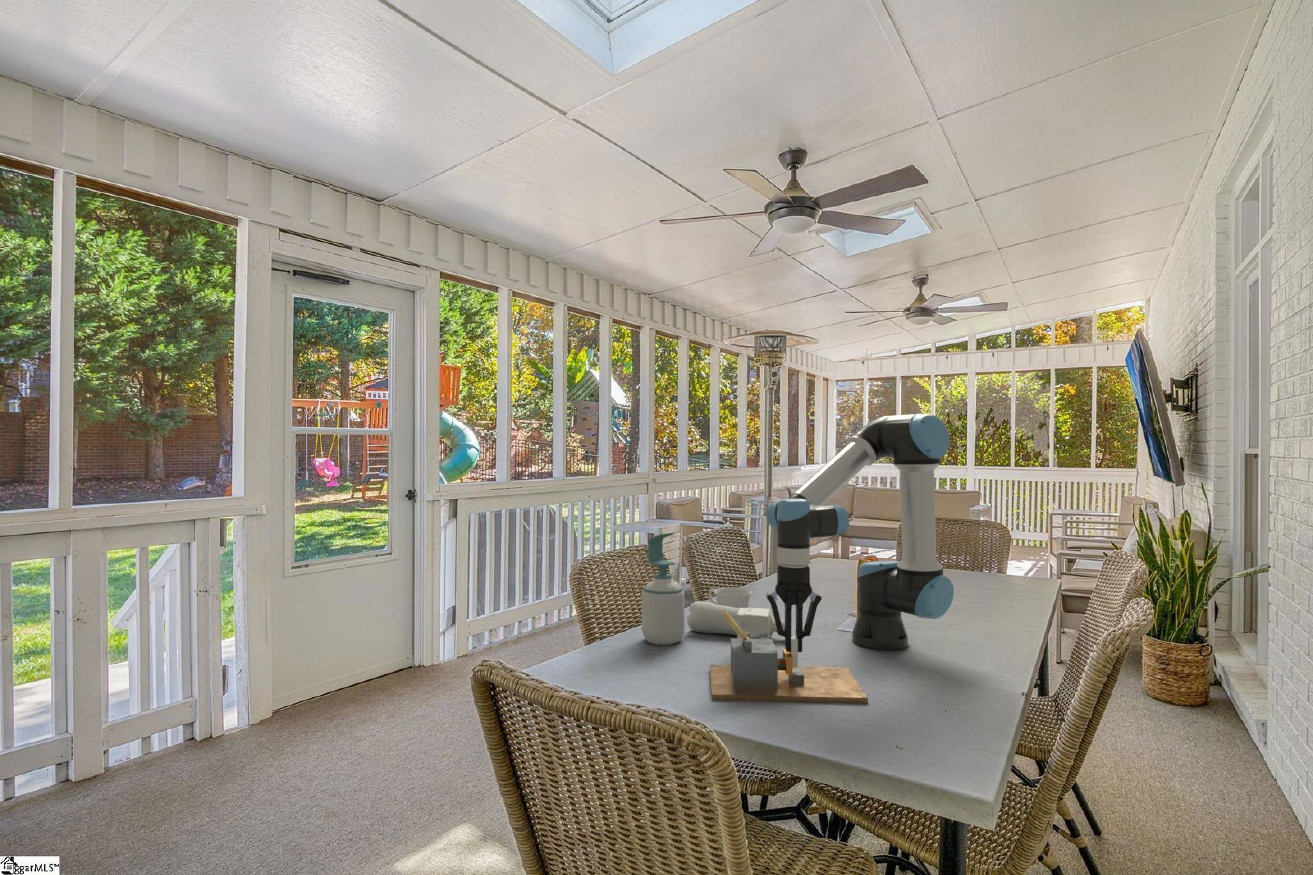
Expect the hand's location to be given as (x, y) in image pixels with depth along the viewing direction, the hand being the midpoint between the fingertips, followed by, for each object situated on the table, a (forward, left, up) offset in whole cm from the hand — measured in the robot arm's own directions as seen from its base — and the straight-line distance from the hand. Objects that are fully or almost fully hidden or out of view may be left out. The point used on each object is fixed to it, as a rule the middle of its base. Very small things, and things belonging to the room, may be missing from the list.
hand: (793, 665), depth 156 cm
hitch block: (+2, 0, -5) cm, 5 cm away
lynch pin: (+7, 0, -1) cm, 8 cm away
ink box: (+7, -23, -5) cm, 25 cm away
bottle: (+10, -41, -5) cm, 42 cm away
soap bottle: (+32, -34, -5) cm, 47 cm away
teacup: (+12, -56, -5) cm, 58 cm away
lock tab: (+14, 0, +8) cm, 16 cm away
